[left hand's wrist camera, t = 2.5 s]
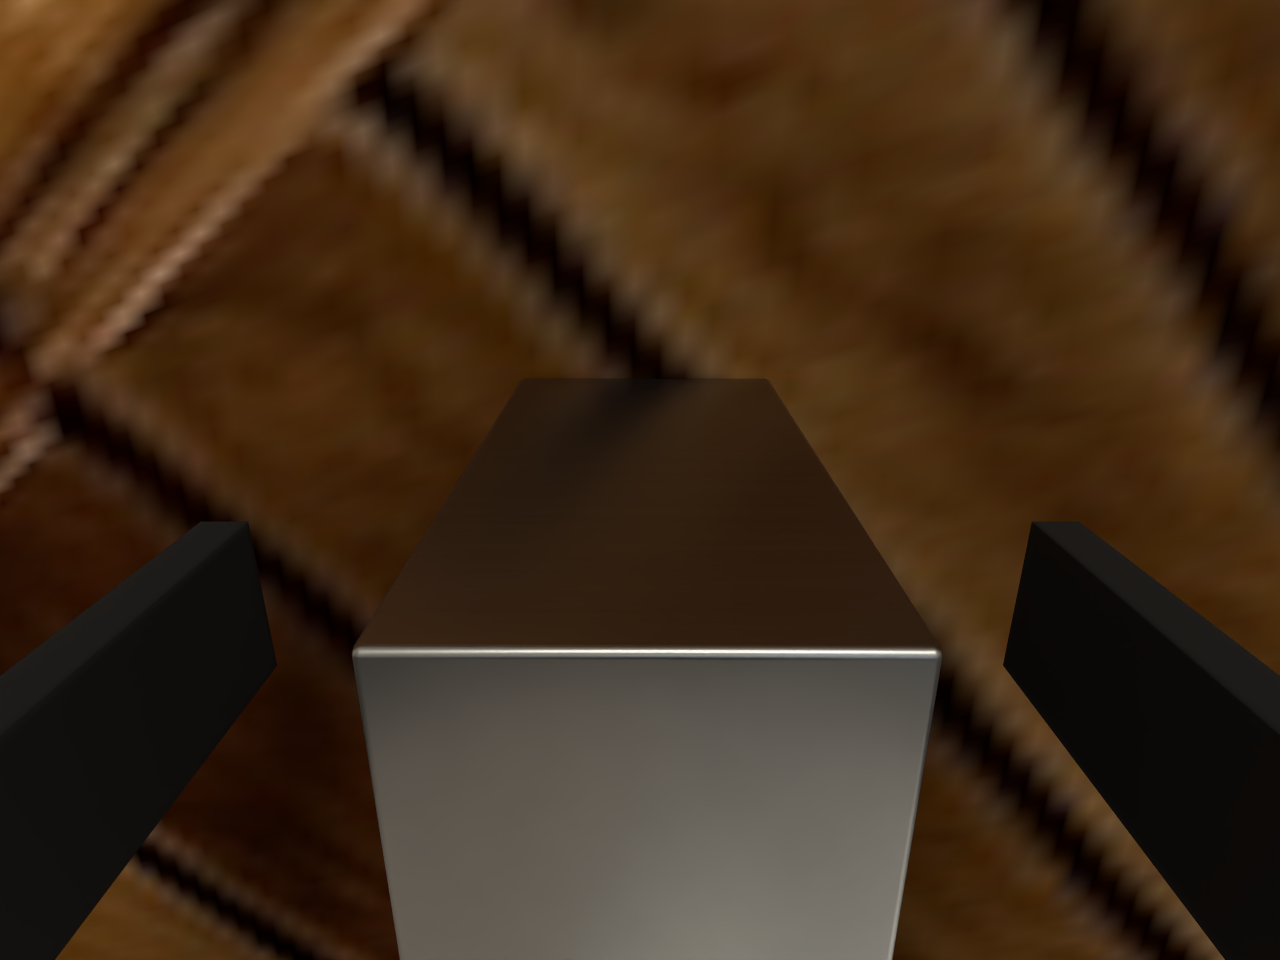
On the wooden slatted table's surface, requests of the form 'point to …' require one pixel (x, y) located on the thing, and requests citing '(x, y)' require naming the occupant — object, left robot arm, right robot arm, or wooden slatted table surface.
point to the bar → (646, 692)
